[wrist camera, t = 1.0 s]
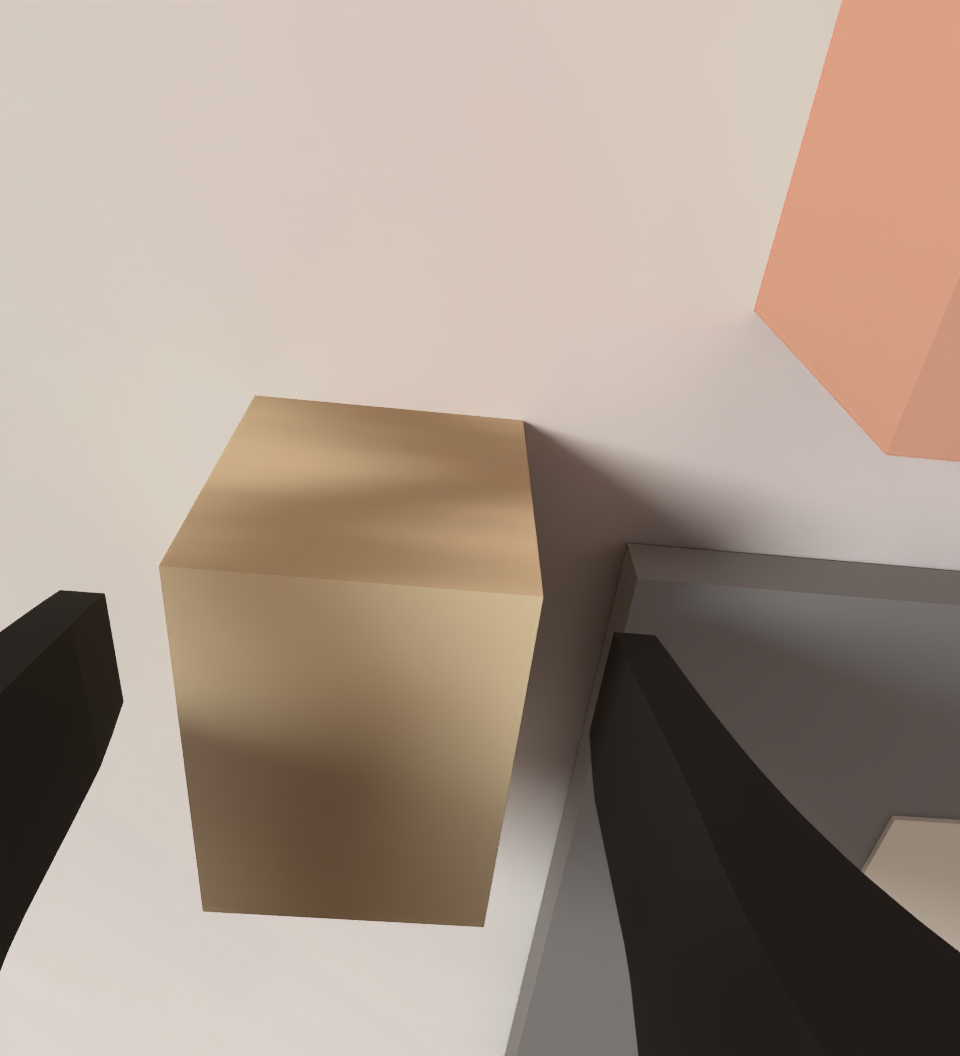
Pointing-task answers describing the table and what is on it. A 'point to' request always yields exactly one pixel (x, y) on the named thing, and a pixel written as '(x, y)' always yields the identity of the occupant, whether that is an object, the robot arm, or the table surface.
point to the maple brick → (354, 659)
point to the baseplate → (771, 750)
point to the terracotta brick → (879, 228)
